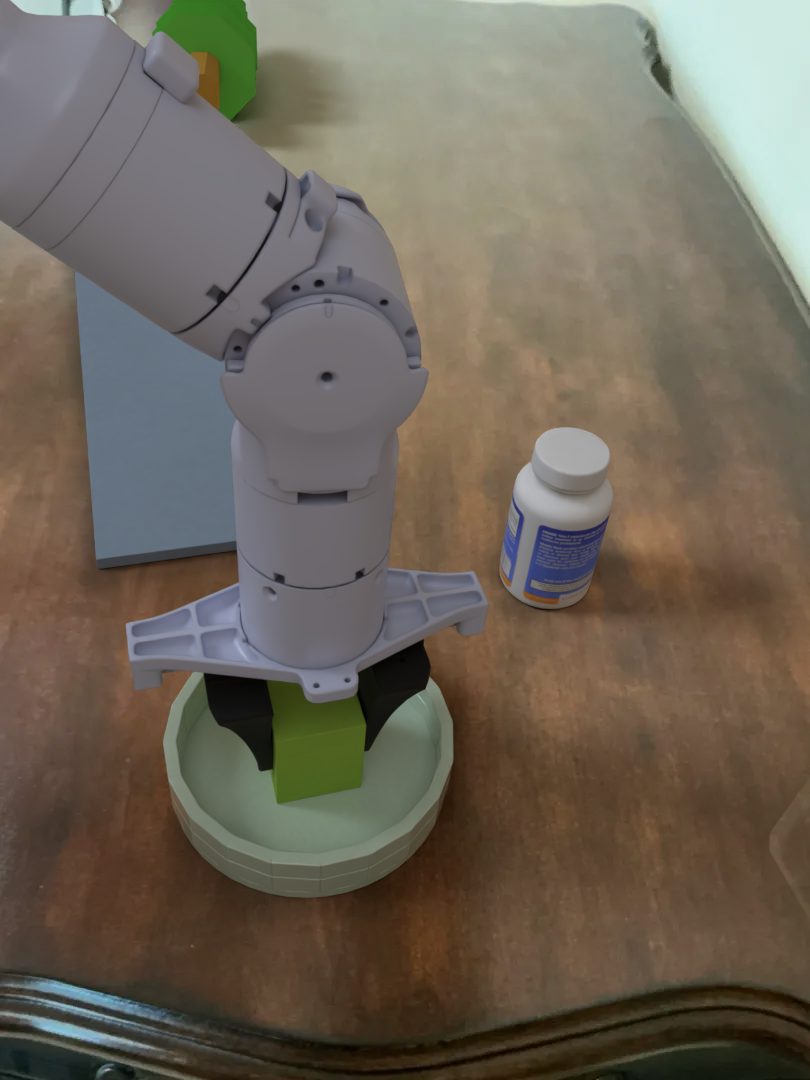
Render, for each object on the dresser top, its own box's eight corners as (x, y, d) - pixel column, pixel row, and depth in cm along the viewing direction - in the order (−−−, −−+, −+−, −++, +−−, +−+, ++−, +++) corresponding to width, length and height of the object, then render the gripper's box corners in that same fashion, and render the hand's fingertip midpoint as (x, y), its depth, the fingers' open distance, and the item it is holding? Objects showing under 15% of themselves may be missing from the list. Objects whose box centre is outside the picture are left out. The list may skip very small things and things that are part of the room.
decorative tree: (159, 13, 88) (182, -81, 109) (125, 128, 95) (152, 19, 116) (277, 69, 92) (278, -32, 113) (235, 174, 99) (243, 61, 120)
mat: (273, 545, 58) (272, 535, 57) (98, 569, 55) (96, 559, 55) (198, 252, 82) (197, 243, 81) (74, 259, 80) (73, 250, 79)
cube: (276, 804, 45) (275, 742, 41) (262, 733, 47) (259, 669, 44) (361, 787, 46) (366, 725, 42) (342, 718, 48) (345, 654, 45)
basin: (116, 836, 44) (106, 801, 41) (246, 630, 53) (244, 592, 51) (392, 943, 41) (397, 910, 39) (479, 706, 50) (486, 670, 48)
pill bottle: (606, 580, 58) (647, 452, 51) (552, 627, 55) (587, 498, 48) (534, 533, 60) (563, 405, 53) (478, 576, 57) (502, 446, 50)
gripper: (119, 646, 32) (160, 853, 41) (533, 582, 35) (483, 786, 45) (106, 504, 36) (146, 718, 46) (472, 460, 40) (439, 667, 49)
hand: (310, 743), depth 45 cm, fingers closed on cube, 4 cm apart
